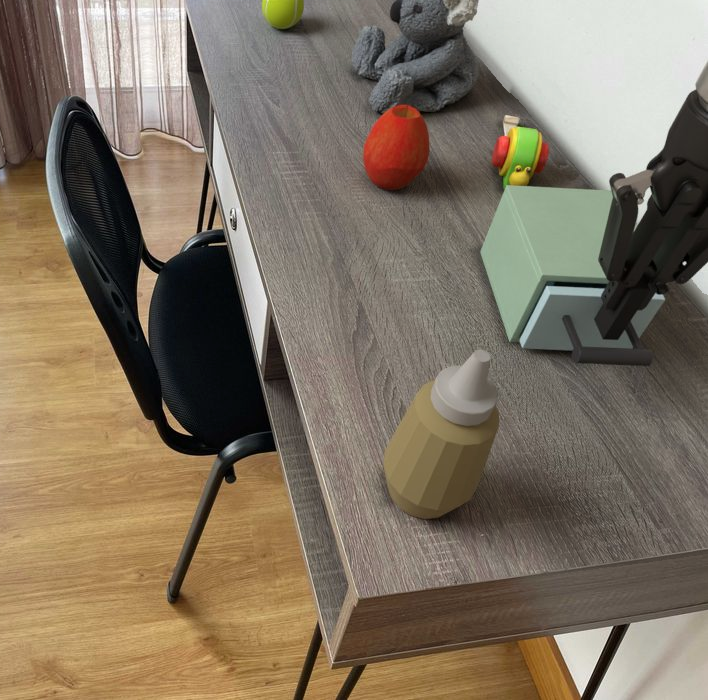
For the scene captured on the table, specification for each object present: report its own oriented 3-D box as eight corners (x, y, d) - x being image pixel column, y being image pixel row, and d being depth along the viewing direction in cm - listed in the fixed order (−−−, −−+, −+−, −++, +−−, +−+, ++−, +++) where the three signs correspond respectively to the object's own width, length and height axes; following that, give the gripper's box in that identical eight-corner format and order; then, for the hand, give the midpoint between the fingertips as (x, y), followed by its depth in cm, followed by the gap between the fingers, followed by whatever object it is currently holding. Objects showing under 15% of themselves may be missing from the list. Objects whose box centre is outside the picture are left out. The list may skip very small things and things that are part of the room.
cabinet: (625, 347, 78) (669, 280, 71) (509, 342, 78) (542, 274, 71) (583, 257, 88) (618, 190, 81) (479, 252, 87) (506, 184, 80)
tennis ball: (257, 32, 122) (260, -11, 117) (263, 15, 127) (267, -28, 122) (298, 38, 122) (303, -5, 117) (303, 21, 127) (308, -22, 121)
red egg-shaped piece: (431, 195, 95) (454, 120, 87) (373, 203, 93) (391, 128, 85) (403, 159, 100) (422, 85, 92) (347, 167, 98) (362, 92, 90)
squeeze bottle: (371, 449, 67) (417, 310, 54) (458, 455, 68) (526, 318, 54) (378, 528, 62) (432, 396, 49) (473, 535, 62) (553, 405, 49)
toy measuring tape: (487, 196, 95) (504, 152, 90) (487, 119, 108) (502, 77, 103) (537, 205, 95) (557, 161, 90) (532, 127, 107) (548, 85, 103)
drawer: (649, 397, 73) (690, 344, 67) (536, 392, 72) (567, 338, 66) (588, 266, 85) (618, 212, 80) (492, 262, 85) (515, 207, 79)
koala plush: (344, 63, 117) (367, -71, 103) (450, 61, 120) (487, -70, 105) (374, 121, 106) (404, -20, 91) (490, 117, 109) (538, -21, 94)
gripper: (805, 84, 56) (657, 304, 73) (638, 74, 55) (529, 299, 73) (861, 139, 51) (687, 361, 68) (677, 128, 50) (550, 355, 68)
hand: (605, 329), depth 71 cm, fingers closed
